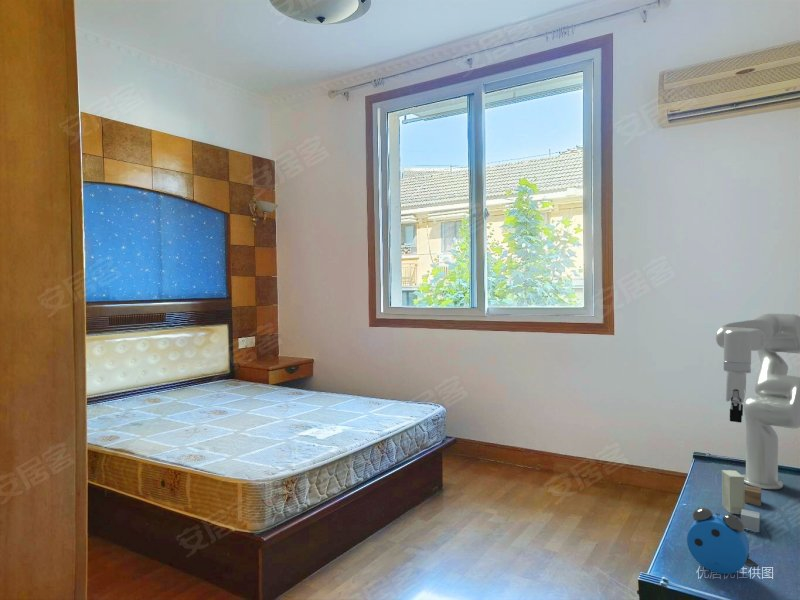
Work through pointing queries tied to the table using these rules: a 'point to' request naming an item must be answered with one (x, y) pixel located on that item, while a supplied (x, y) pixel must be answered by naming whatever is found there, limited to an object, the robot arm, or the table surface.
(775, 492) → the table surface
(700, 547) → the alarm clock
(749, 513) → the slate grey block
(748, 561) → the strap clip
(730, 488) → the skincare box
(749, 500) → the walnut block
